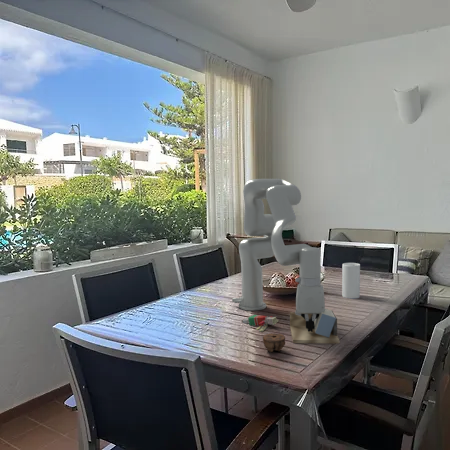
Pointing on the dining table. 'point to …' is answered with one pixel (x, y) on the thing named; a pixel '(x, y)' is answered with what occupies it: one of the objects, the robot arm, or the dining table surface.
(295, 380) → the dining table surface
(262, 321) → the toy
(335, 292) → the dining table surface
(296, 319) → the tan shallow square box
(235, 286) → the dining table surface
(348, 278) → the cup
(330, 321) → the book
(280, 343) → the artifact
